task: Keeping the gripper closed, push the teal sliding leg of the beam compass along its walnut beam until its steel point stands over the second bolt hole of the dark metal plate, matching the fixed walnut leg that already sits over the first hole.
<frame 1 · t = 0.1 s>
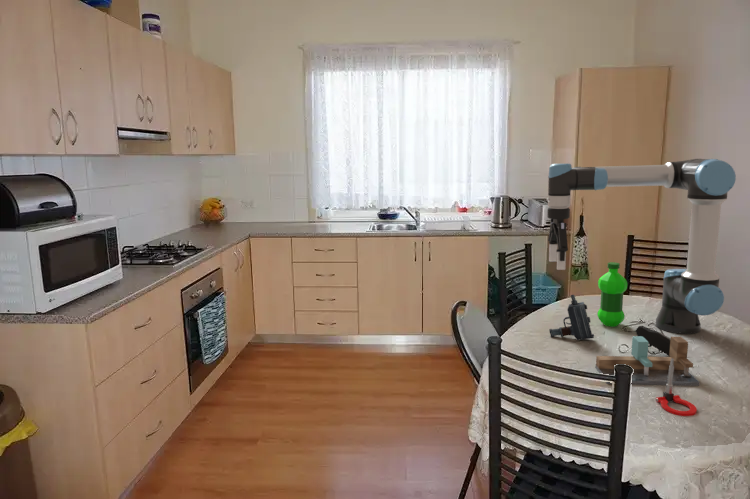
hand: (556, 265, 191), 28 cm above the table, tool pointing down, fingers open, 13 cm apart
sliding leg: (642, 356, 163), point 6 cm above the table, slide at 0.0 cm
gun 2: (658, 355, 179), on the table
bolt plate: (644, 376, 162), on the table
tow hook: (677, 408, 143), on the table
beam: (644, 356, 163), on the bolt plate, point 6 cm above the table
plastic bottle: (610, 325, 209), on the table
gun: (571, 338, 196), on the table
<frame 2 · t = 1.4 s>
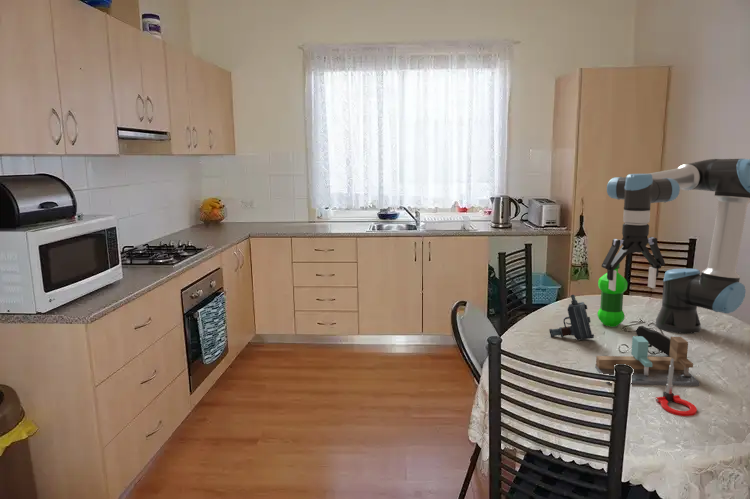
hand: (631, 288, 169), 25 cm above the table, tool pointing down, fingers open, 13 cm apart
nothing on the table moved.
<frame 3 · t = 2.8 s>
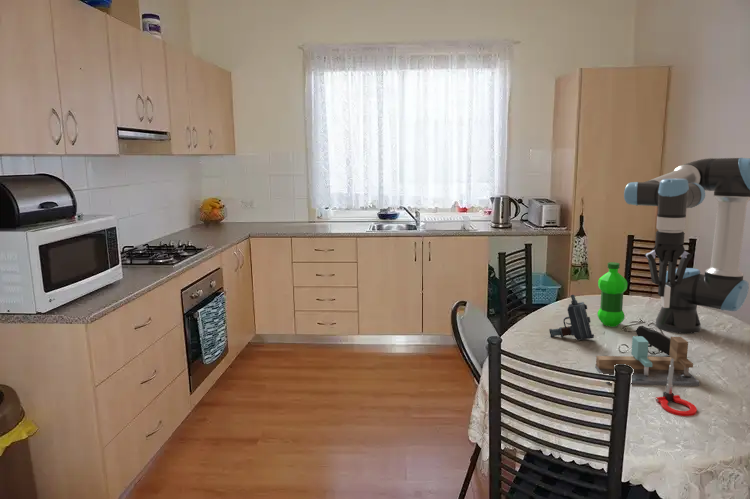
hand: (664, 306, 161), 21 cm above the table, tool pointing down, fingers closed
nothing on the table moved.
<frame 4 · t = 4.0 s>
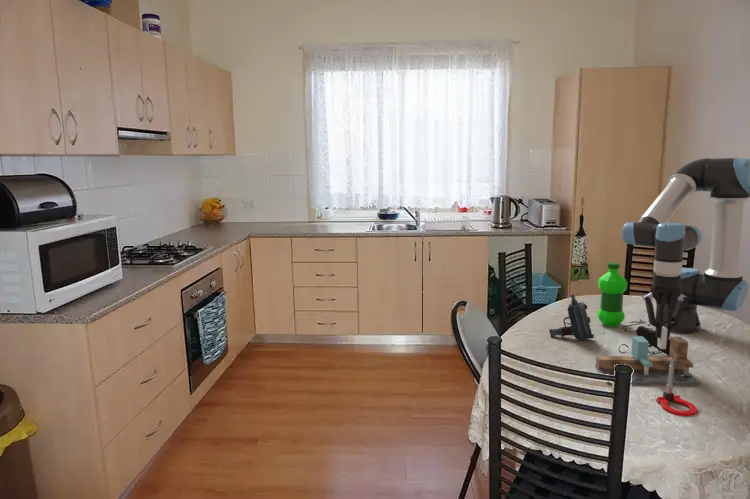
hand: (661, 347, 164), 8 cm above the table, tool pointing down, fingers closed
nothing on the table moved.
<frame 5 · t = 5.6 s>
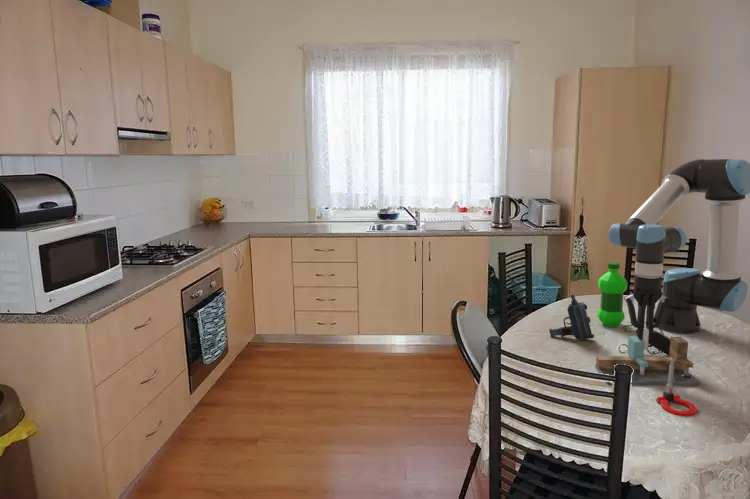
hand: (643, 348, 165), 8 cm above the table, tool pointing down, fingers closed
sliding leg: (638, 356, 163), point 6 cm above the table, slide at 1.2 cm, touching gripper
everything else where it was.
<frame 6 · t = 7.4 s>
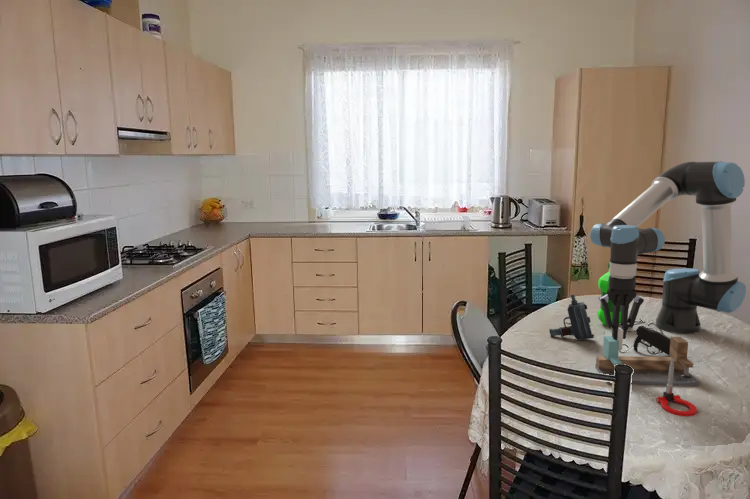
hand: (618, 348, 166), 7 cm above the table, tool pointing down, fingers closed
sliding leg: (613, 355, 164), point 6 cm above the table, slide at 8.7 cm, touching gripper
everything else where it was.
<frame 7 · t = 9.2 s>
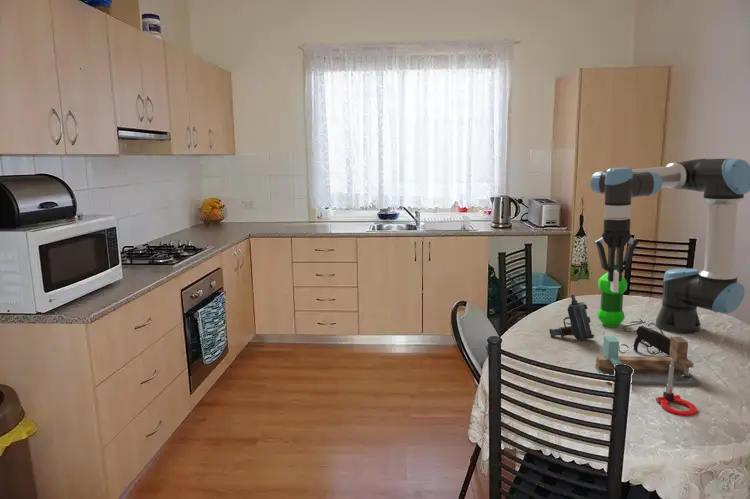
hand: (614, 291, 168), 25 cm above the table, tool pointing down, fingers closed
sliding leg: (613, 355, 164), point 6 cm above the table, slide at 8.7 cm
everything else where it was.
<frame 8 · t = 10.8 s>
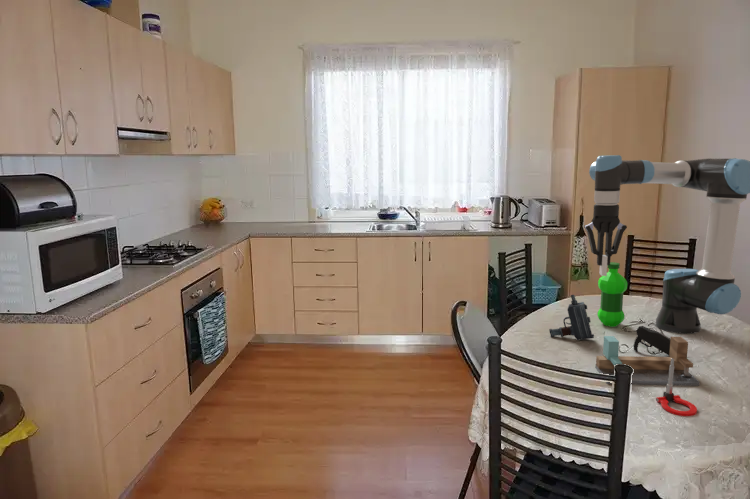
hand: (602, 274, 174), 28 cm above the table, tool pointing down, fingers closed
nothing on the table moved.
at the end: sliding leg slide at 8.7 cm; sliding leg 0.0 cm from the target spot, resting on bolt plate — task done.
